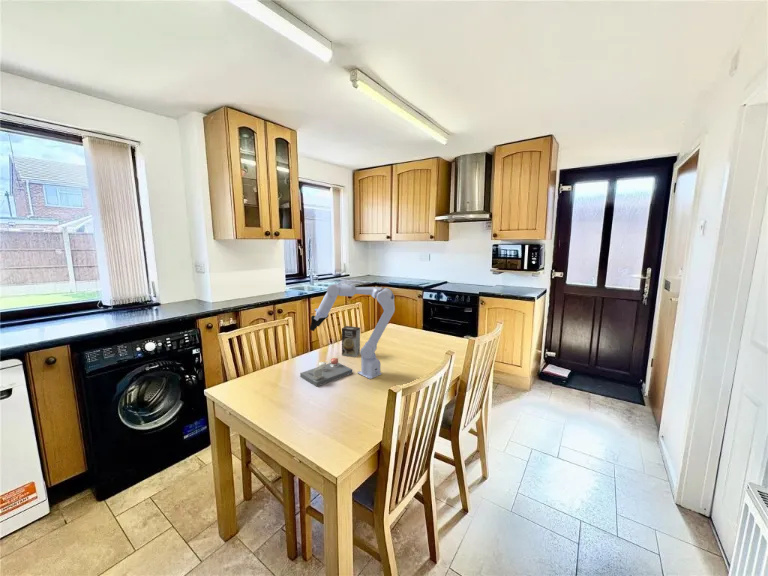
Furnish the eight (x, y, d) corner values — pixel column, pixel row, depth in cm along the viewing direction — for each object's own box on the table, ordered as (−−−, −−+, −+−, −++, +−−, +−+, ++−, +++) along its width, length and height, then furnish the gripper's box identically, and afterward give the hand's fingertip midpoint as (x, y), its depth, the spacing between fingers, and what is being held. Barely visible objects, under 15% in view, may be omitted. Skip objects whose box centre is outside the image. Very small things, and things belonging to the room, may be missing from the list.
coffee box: (341, 355, 179) (341, 328, 176) (346, 351, 185) (346, 325, 182) (355, 357, 176) (355, 330, 173) (360, 353, 182) (360, 327, 179)
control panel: (352, 373, 156) (352, 369, 155) (316, 386, 141) (316, 382, 140) (335, 364, 165) (335, 361, 165) (300, 376, 150) (300, 372, 150)
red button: (339, 363, 160) (339, 359, 159) (333, 364, 157) (333, 361, 157) (335, 361, 162) (335, 357, 162) (329, 362, 159) (329, 359, 159)
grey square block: (323, 377, 145) (323, 368, 144) (316, 380, 142) (316, 371, 141) (320, 375, 147) (319, 366, 146) (312, 378, 144) (312, 369, 144)
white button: (327, 367, 154) (327, 363, 154) (321, 369, 152) (321, 365, 151) (323, 365, 157) (323, 361, 156) (317, 367, 154) (317, 363, 154)
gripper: (324, 298, 161) (312, 319, 164) (314, 304, 147) (301, 328, 150) (335, 305, 161) (324, 326, 164) (326, 312, 147) (314, 335, 150)
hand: (314, 327), depth 157 cm, fingers open, 7 cm apart
